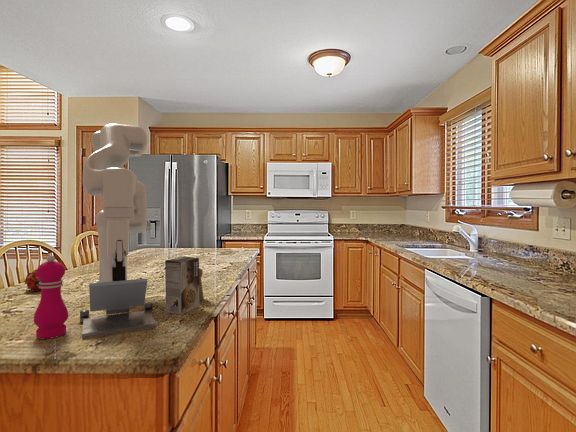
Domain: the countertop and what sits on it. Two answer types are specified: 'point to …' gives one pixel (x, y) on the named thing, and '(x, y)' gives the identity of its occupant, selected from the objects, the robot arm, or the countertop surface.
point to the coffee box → (182, 284)
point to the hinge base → (117, 322)
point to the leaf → (117, 295)
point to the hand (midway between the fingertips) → (118, 281)
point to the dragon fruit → (32, 281)
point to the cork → (200, 286)
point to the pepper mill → (50, 300)
